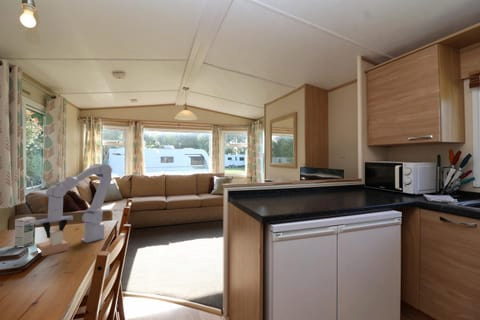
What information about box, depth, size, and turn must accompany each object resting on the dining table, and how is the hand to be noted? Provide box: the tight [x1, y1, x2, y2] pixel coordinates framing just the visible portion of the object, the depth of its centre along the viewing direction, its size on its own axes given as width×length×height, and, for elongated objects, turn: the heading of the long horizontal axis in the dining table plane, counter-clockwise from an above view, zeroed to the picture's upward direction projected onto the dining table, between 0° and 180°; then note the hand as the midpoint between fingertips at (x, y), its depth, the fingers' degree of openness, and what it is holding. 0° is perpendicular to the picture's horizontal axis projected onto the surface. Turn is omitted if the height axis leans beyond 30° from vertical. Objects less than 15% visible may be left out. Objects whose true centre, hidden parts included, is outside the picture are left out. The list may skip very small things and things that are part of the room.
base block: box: [35, 239, 69, 257], centre depth 112 cm, size 10×10×4 cm
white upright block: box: [48, 229, 64, 246], centre depth 111 cm, size 4×4×6 cm
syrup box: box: [13, 216, 36, 247], centre depth 118 cm, size 6×6×14 cm
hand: (54, 236), depth 112 cm, fingers closed on white upright block, 4 cm apart
